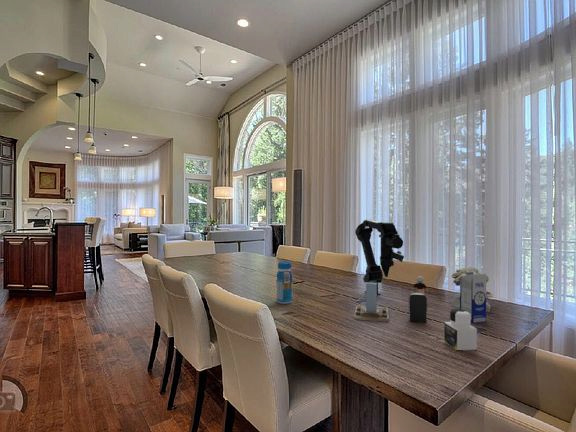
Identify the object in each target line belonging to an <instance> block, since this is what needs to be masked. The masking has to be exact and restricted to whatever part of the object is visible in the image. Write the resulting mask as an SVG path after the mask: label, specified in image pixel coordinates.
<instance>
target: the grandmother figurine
mask: <svg viewBox="0 0 576 432" xmlns="http://www.w3.org/2000/svg"><path fill="white" fill-rule="evenodd" d="M423 282H424V276H422V275H418V276H416V283H414V284H413V285H412V288H411V291H414V290H415V289H416V292H415V293H422V294H424V295H425V296H426V294H425V291H426V292H429V289H428V287H427V285H426V284H425V283H423Z"/></svg>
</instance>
